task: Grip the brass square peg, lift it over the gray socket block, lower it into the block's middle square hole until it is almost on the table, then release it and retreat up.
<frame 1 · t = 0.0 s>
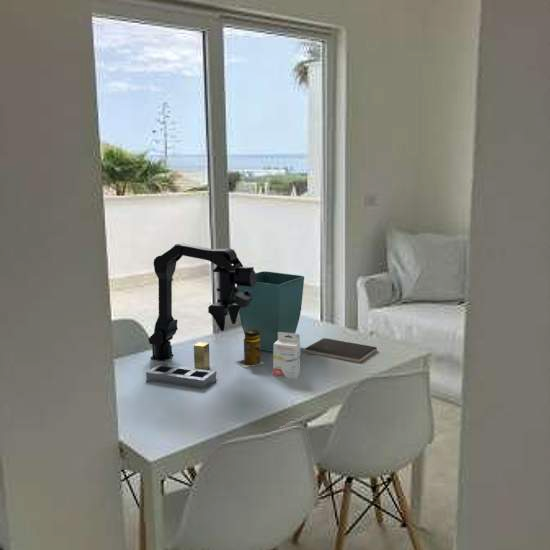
hand: (228, 327, 211), 15 cm above the table, tool pointing down, fingers open, 9 cm apart
gray socket block: (181, 380, 201), on the table
hardcover book: (340, 353, 229), on the table
condiment: (250, 363, 218), on the table
brass peg: (202, 368, 213), on the table
ink cartridge box: (286, 375, 205), on the table
flower pot: (271, 346, 237), on the table
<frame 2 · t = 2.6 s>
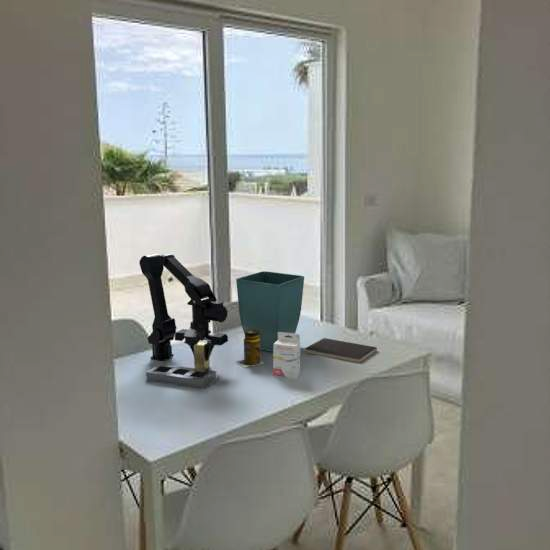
hand: (201, 360, 212), 3 cm above the table, tool pointing down, fingers closed on brass peg, 4 cm apart
brass peg: (202, 368, 213), on the table, touching gripper
everything else where it was.
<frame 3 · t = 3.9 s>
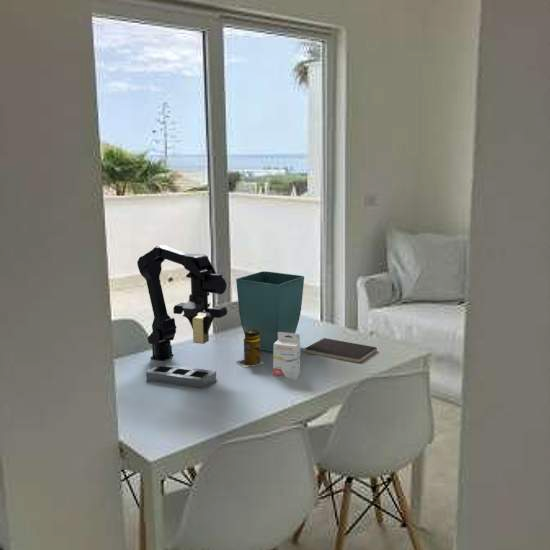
hand: (200, 333, 210), 13 cm above the table, tool pointing down, fingers closed on brass peg, 4 cm apart
brass peg: (201, 341, 210), point 10 cm above the table, touching gripper
everything else where it was.
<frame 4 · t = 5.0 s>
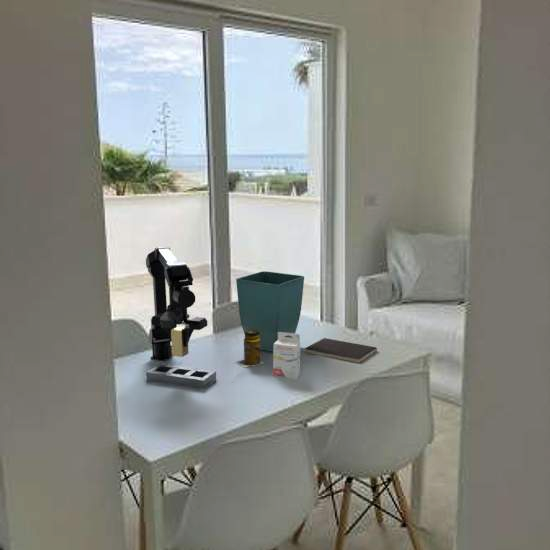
hand: (179, 346, 199), 12 cm above the table, tool pointing down, fingers closed on brass peg, 4 cm apart
brass peg: (180, 354, 199), point 9 cm above the table, touching gripper
everything else where it was.
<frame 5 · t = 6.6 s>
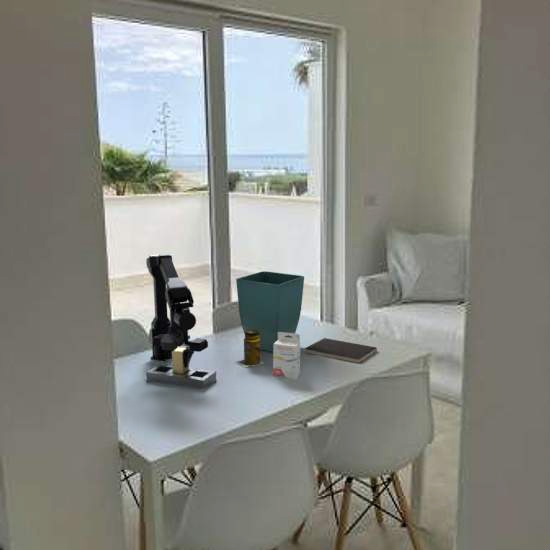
hand: (180, 366, 200), 5 cm above the table, tool pointing down, fingers closed on brass peg, 4 cm apart
brass peg: (181, 375, 201), point 2 cm above the table, touching gripper
everything else where it was.
when the fingers open (4 cm above the table, at t = 7.8 s): brass peg stays where it is, resting in gray socket block.
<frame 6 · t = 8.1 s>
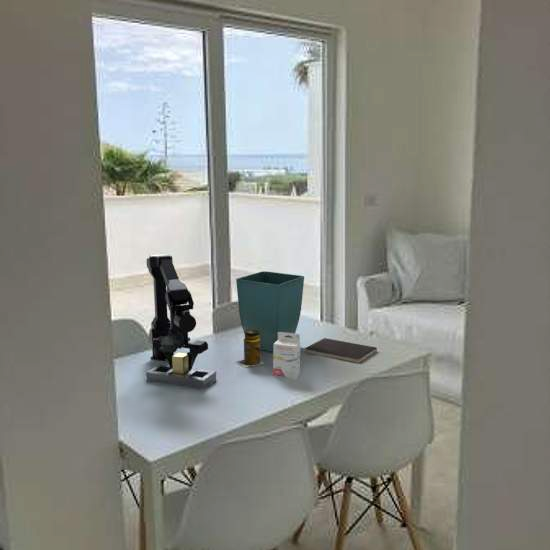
hand: (180, 368, 200), 4 cm above the table, tool pointing down, fingers open, 7 cm apart
brass peg: (181, 380, 201), resting in gray socket block
everything else where it was.
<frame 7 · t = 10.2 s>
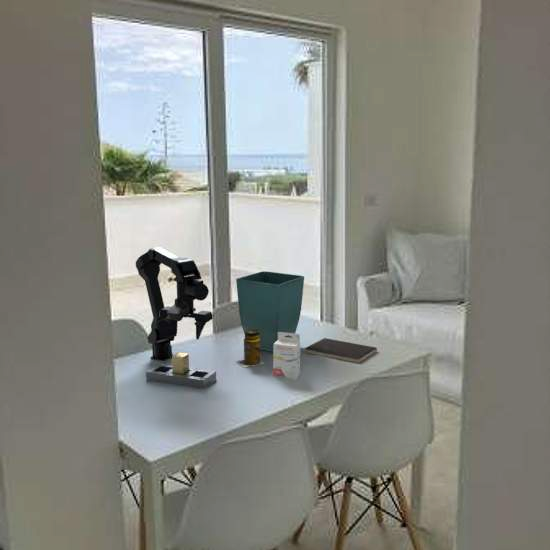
hand: (186, 337, 209), 12 cm above the table, tool pointing down, fingers open, 9 cm apart
nothing on the table moved.
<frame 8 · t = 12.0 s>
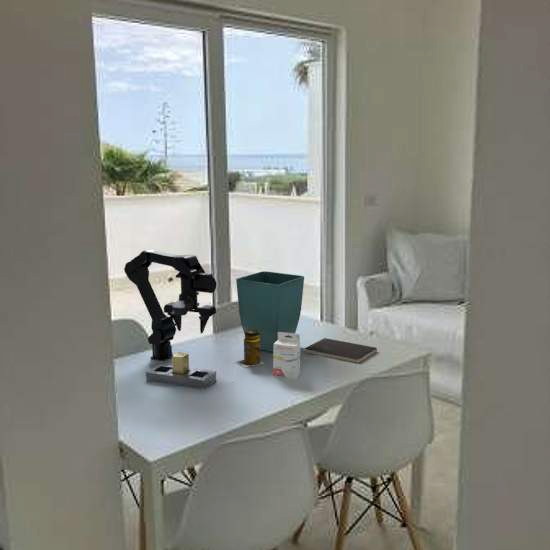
hand: (190, 332, 215), 12 cm above the table, tool pointing down, fingers open, 9 cm apart
nothing on the table moved.
at the end: brass peg 0.0 cm off-centre on the gray socket block, point 0.0 cm above the gray socket block's base; brass peg tilted 0°; the gripper is holding nothing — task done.
